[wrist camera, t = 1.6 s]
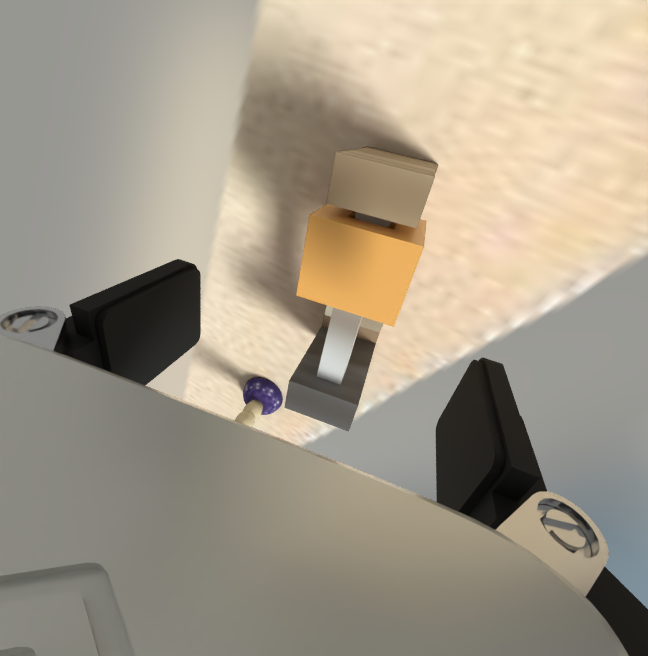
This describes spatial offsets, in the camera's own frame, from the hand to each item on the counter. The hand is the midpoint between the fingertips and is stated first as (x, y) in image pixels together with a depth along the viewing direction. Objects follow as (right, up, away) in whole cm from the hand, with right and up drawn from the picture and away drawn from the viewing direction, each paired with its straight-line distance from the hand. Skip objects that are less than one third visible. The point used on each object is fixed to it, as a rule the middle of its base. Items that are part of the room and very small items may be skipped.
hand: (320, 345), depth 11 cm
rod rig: (+3, +5, +13) cm, 14 cm away
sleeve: (+3, +5, +8) cm, 10 cm away
